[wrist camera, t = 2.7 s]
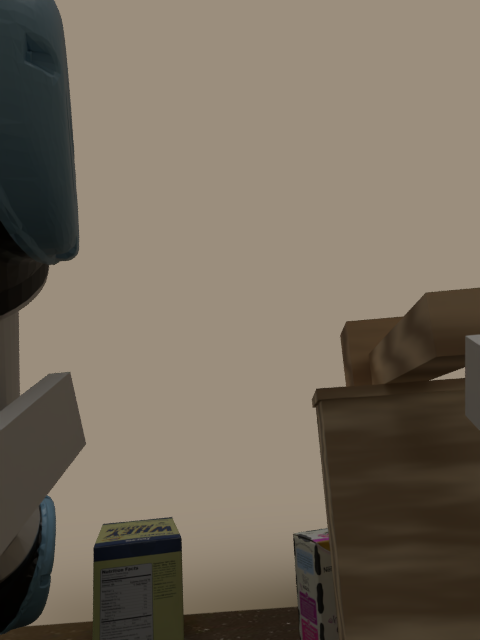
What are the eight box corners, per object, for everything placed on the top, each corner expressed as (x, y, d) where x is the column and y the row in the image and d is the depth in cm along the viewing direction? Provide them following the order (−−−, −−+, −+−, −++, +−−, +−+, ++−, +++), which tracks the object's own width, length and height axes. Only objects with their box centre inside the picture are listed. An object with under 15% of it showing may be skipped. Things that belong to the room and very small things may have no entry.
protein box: (175, 630, 66) (172, 515, 70) (187, 685, 51) (182, 536, 55) (100, 642, 63) (101, 522, 67) (90, 703, 49) (92, 546, 52)
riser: (608, 931, 24) (498, 375, 32) (369, 918, 26) (316, 388, 33) (505, 763, 37) (443, 390, 44) (347, 761, 38) (311, 399, 45)
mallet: (543, 348, 20) (515, 222, 21) (402, 359, 20) (383, 236, 22) (411, 391, 43) (402, 330, 44) (347, 396, 43) (340, 335, 45)
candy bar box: (332, 739, 41) (314, 541, 45) (303, 710, 45) (289, 532, 49) (426, 703, 45) (402, 525, 49) (391, 680, 50) (372, 519, 53)
